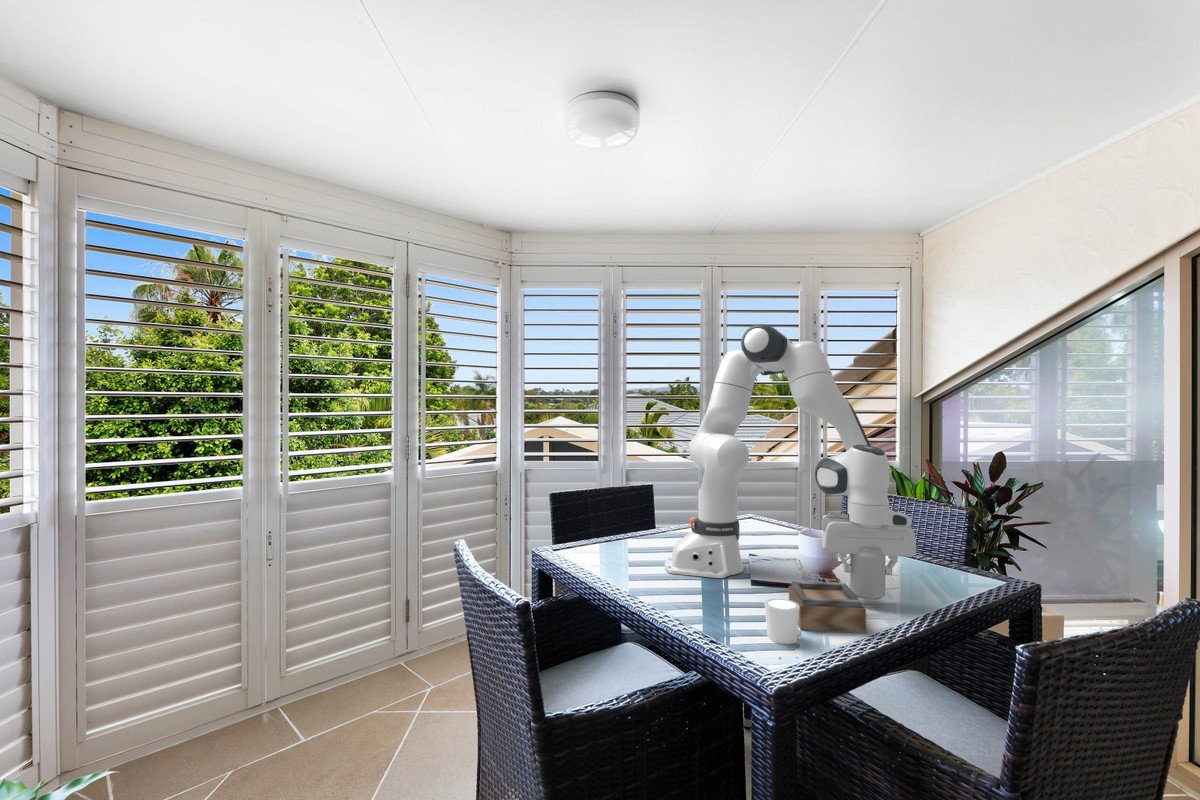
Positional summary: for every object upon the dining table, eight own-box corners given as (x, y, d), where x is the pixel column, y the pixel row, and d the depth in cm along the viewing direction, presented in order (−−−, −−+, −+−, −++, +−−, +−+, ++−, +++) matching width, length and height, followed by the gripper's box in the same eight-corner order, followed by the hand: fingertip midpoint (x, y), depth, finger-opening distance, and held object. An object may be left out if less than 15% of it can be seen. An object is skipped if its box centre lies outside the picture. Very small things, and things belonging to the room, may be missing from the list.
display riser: (800, 629, 117) (800, 600, 117) (789, 607, 130) (788, 580, 130) (865, 633, 115) (865, 603, 115) (847, 609, 128) (847, 582, 128)
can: (858, 588, 137) (858, 539, 137) (890, 596, 131) (890, 545, 131) (844, 595, 132) (844, 544, 132) (877, 604, 126) (877, 551, 126)
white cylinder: (759, 631, 117) (759, 598, 117) (791, 630, 117) (790, 597, 117) (772, 646, 110) (772, 610, 110) (806, 644, 110) (805, 609, 110)
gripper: (824, 515, 130) (824, 574, 130) (919, 519, 126) (918, 580, 126) (818, 510, 136) (818, 566, 136) (909, 513, 133) (908, 571, 133)
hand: (867, 573), depth 131 cm, fingers closed on can, 7 cm apart
